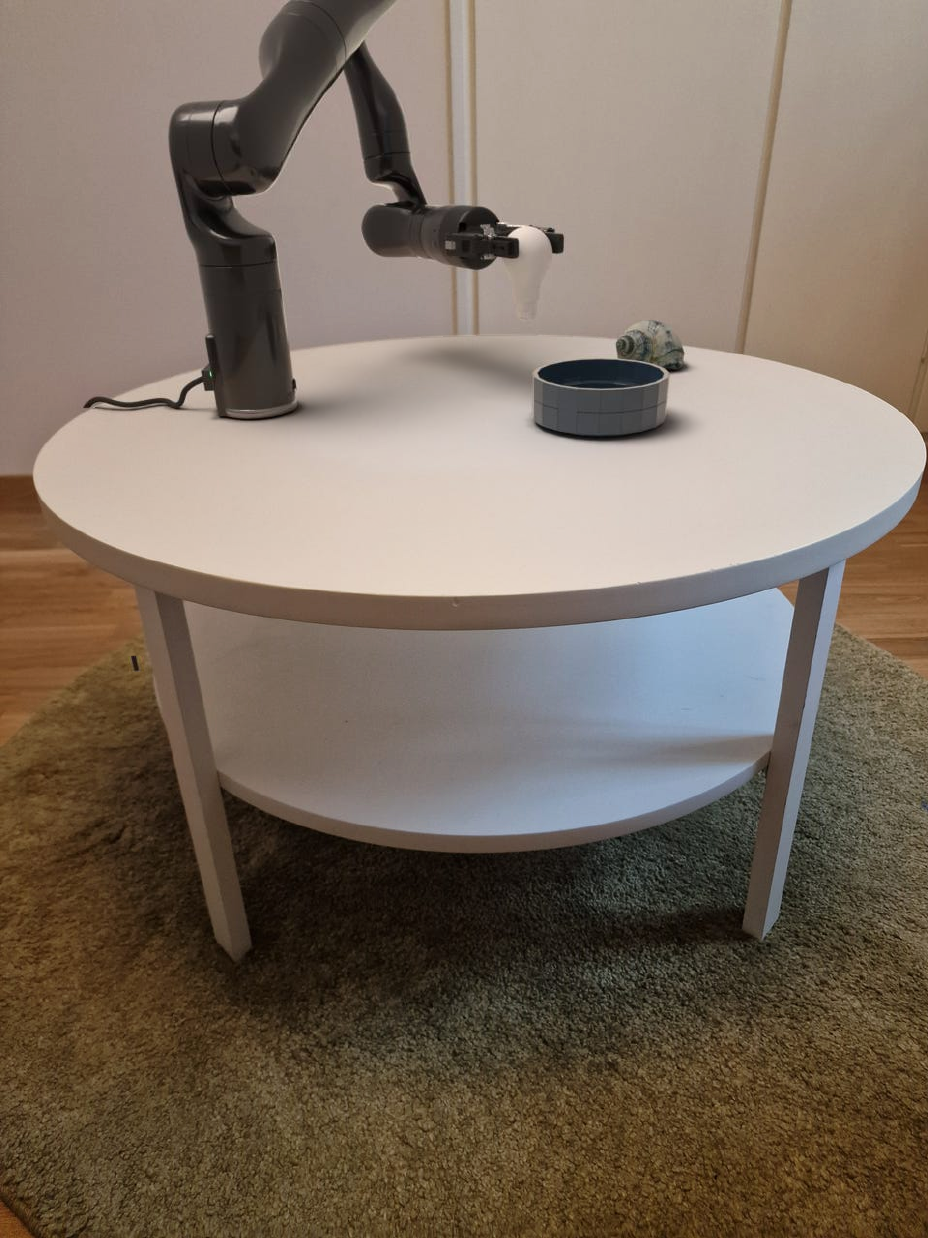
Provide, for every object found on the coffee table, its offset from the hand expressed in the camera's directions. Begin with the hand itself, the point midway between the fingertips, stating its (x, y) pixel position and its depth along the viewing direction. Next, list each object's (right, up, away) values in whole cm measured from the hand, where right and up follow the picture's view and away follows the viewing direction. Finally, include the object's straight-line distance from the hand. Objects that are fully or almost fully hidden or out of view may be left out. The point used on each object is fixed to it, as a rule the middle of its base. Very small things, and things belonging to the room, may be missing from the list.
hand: (539, 246), depth 100 cm
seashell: (+17, -9, +20) cm, 28 cm away
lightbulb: (-1, -7, +6) cm, 10 cm away
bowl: (+7, -21, -2) cm, 22 cm away
